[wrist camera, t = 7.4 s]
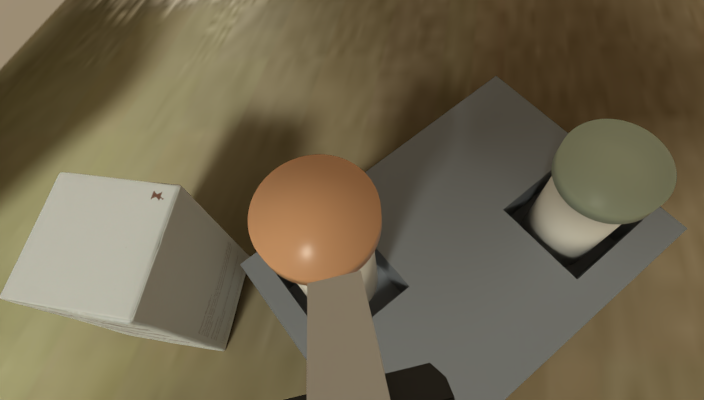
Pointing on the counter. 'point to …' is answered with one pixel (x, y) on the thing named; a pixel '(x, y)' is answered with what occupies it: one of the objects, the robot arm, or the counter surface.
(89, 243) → the supplement box
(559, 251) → the green capped cylinder
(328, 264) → the orange capped cylinder
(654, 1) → the counter surface
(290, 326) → the console
